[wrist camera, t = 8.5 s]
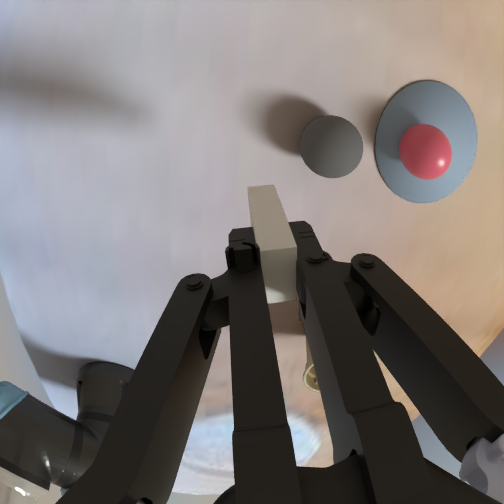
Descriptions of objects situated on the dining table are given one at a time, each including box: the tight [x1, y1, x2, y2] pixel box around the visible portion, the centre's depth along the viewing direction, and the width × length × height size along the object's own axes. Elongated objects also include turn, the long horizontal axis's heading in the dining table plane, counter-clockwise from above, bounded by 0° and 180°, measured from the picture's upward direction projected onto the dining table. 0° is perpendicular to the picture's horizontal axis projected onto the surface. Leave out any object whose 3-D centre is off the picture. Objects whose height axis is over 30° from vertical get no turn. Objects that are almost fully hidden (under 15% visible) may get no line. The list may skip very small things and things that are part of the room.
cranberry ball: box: [399, 124, 452, 180], centre depth 26 cm, size 6×6×6 cm
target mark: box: [375, 81, 477, 203], centre depth 28 cm, size 14×14×1 cm
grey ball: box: [300, 115, 363, 178], centre depth 25 cm, size 6×6×6 cm
